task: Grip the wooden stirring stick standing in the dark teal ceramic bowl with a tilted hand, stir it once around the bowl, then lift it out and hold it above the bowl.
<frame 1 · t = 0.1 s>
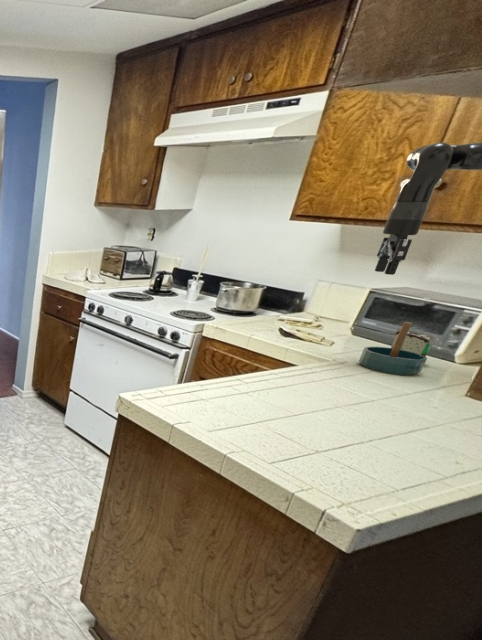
hand: (384, 272, 147), 30 cm above the counter, tool pointing down, fingers open, 8 cm apart
sandwich: (409, 362, 162), on the counter
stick: (388, 366, 154), point 1 cm above the counter, touching bowl
bowl: (387, 368, 154), on the counter
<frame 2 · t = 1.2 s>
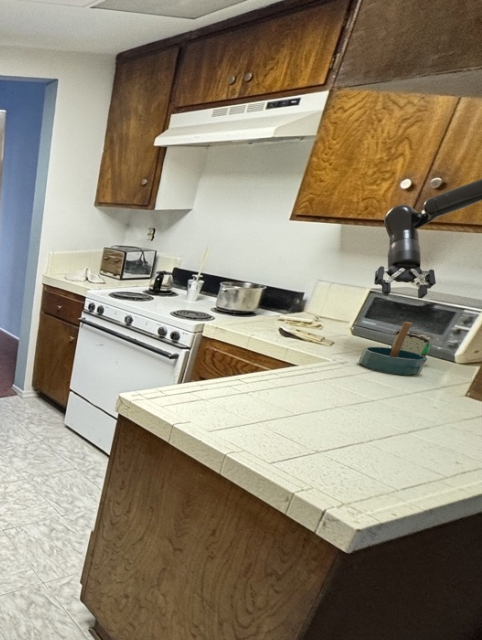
hand: (404, 295, 154), 23 cm above the counter, tool tilted 45°, fingers open, 8 cm apart
nothing on the counter moved.
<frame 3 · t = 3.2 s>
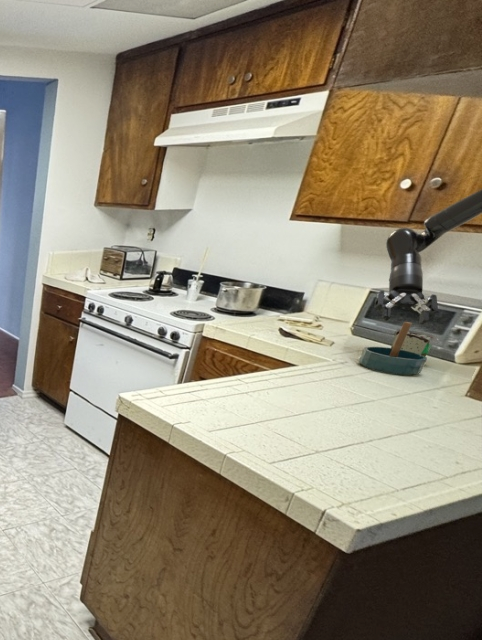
hand: (405, 321, 150), 16 cm above the counter, tool tilted 45°, fingers open, 8 cm apart
nothing on the counter moved.
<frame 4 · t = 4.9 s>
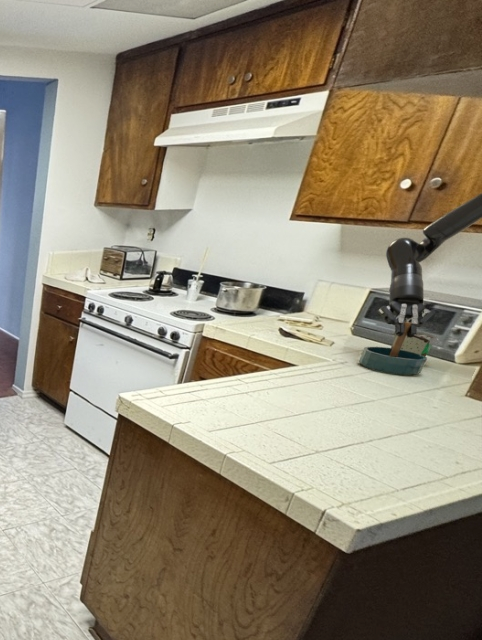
hand: (405, 335, 148), 12 cm above the counter, tool tilted 45°, fingers closed on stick, 2 cm apart
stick: (388, 366, 154), point 1 cm above the counter, touching bowl, gripper
everything else where it was.
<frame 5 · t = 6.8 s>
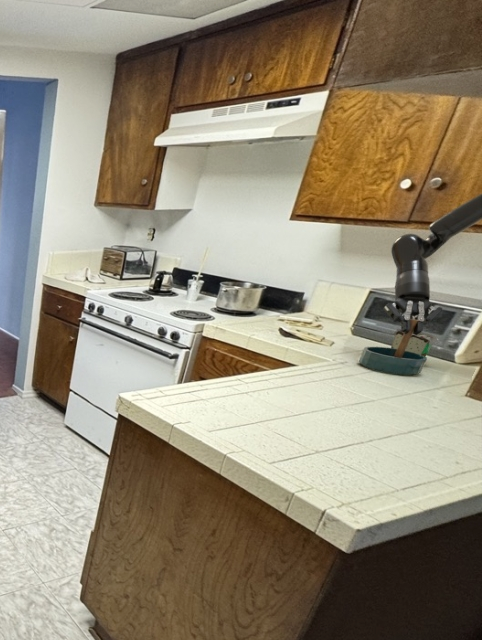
hand: (412, 332, 146), 13 cm above the counter, tool tilted 45°, fingers closed on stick, 2 cm apart
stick: (394, 364, 152), point 2 cm above the counter, touching gripper
everything else where it was.
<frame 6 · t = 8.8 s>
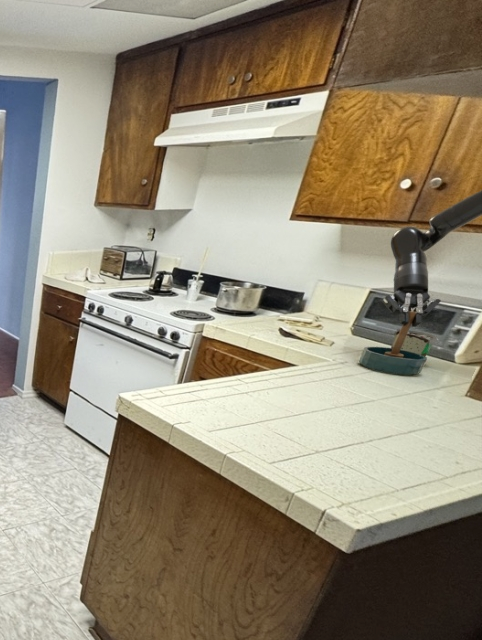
hand: (410, 324, 147), 15 cm above the counter, tool tilted 45°, fingers closed on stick
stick: (393, 356, 153), point 4 cm above the counter, touching gripper
everything else where it was.
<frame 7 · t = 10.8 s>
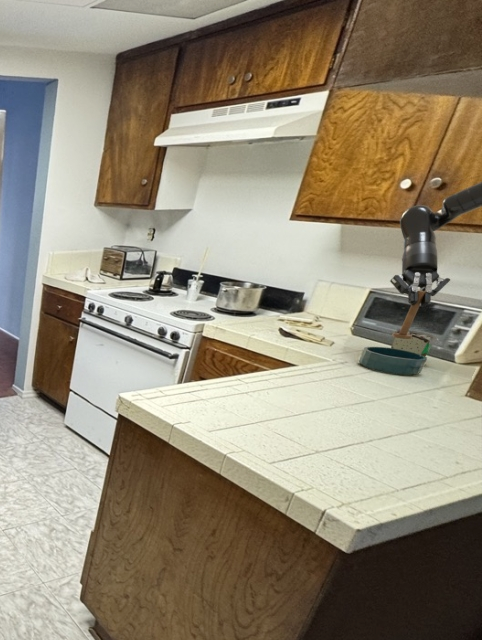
hand: (419, 304, 144), 22 cm above the counter, tool tilted 45°, fingers closed on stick
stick: (401, 337, 150), point 11 cm above the counter, touching gripper
everything else where it was.
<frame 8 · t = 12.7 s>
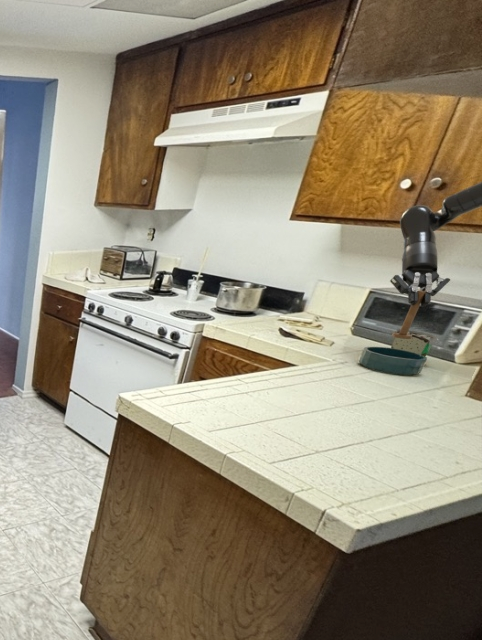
hand: (419, 304, 144), 22 cm above the counter, tool tilted 45°, fingers closed on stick
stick: (401, 337, 150), point 11 cm above the counter, touching gripper
everything else where it was.
at the end: the gripper is holding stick; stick inside the target area on the bowl (0.1 cm from its centre), point 10.7 cm above the bowl's base; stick moved 9.9 cm from its start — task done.
